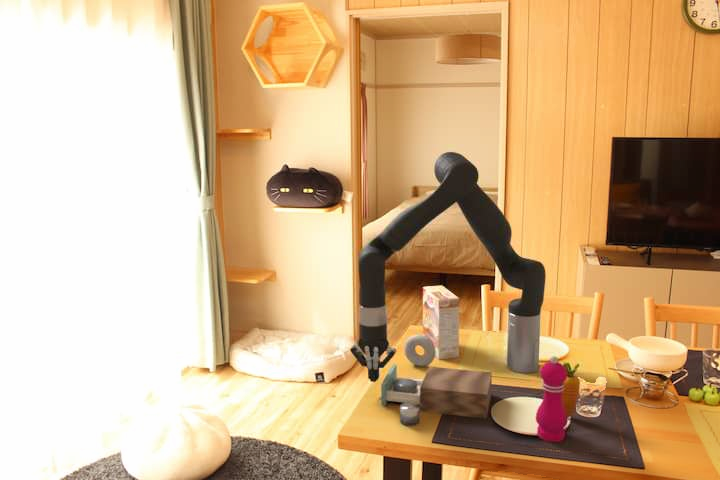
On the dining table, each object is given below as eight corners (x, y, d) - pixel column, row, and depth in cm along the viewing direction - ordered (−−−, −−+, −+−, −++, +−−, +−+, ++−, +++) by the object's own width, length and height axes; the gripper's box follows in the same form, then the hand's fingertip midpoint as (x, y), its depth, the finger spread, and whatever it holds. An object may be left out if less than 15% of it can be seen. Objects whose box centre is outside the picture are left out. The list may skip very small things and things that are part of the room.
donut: (437, 366, 196) (437, 335, 194) (433, 370, 193) (433, 339, 191) (407, 361, 201) (407, 330, 199) (402, 365, 198) (402, 334, 196)
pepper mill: (567, 430, 157) (571, 352, 153) (566, 445, 150) (570, 364, 146) (536, 426, 159) (539, 349, 155) (534, 440, 152) (537, 360, 148)
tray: (453, 390, 179) (453, 369, 178) (446, 412, 166) (446, 390, 165) (393, 384, 184) (392, 364, 183) (381, 405, 171) (381, 384, 170)
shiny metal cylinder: (420, 418, 164) (420, 403, 164) (417, 427, 160) (417, 412, 159) (402, 415, 166) (402, 401, 165) (398, 424, 161) (398, 409, 160)
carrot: (578, 415, 164) (582, 359, 161) (576, 424, 160) (579, 367, 157) (558, 411, 166) (561, 356, 163) (555, 420, 162) (558, 364, 159)
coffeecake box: (422, 343, 215) (422, 286, 211) (442, 341, 217) (442, 284, 213) (438, 360, 201) (438, 299, 197) (459, 357, 203) (460, 297, 199)
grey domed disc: (417, 384, 179) (417, 378, 178) (417, 395, 172) (417, 389, 172) (394, 384, 179) (393, 378, 179) (393, 395, 173) (393, 389, 172)
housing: (491, 394, 177) (491, 372, 175) (486, 418, 164) (487, 394, 162) (429, 388, 181) (429, 366, 180) (420, 411, 168) (420, 387, 167)
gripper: (345, 323, 172) (346, 384, 176) (393, 326, 169) (394, 388, 172) (353, 314, 180) (354, 372, 183) (399, 317, 176) (400, 377, 180)
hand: (373, 380), depth 178 cm, fingers closed
